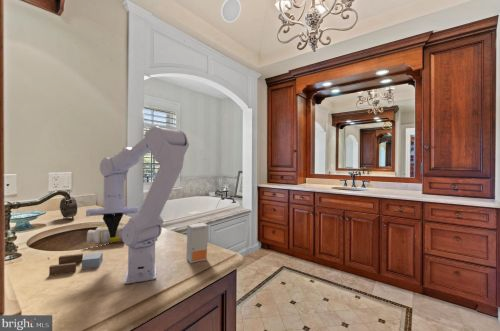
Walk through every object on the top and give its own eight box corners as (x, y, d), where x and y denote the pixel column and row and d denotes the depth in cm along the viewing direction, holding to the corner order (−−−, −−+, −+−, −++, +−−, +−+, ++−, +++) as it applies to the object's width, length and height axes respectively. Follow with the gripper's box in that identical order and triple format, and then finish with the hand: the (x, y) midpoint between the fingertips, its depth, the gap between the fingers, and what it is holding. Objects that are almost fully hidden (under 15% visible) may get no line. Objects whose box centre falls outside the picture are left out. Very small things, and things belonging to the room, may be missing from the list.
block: (99, 267, 70) (99, 258, 70) (81, 269, 69) (81, 259, 69) (102, 261, 75) (102, 252, 75) (86, 263, 73) (86, 254, 73)
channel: (75, 272, 67) (75, 263, 67) (49, 275, 64) (49, 267, 64) (82, 261, 74) (82, 253, 74) (59, 263, 72) (60, 256, 72)
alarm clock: (77, 219, 124) (78, 189, 123) (65, 221, 119) (66, 190, 119) (69, 216, 129) (69, 188, 129) (57, 218, 125) (58, 189, 125)
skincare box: (190, 263, 74) (191, 227, 74) (186, 259, 78) (187, 224, 78) (207, 260, 78) (208, 225, 77) (202, 255, 81) (203, 222, 81)
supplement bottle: (126, 231, 98) (90, 235, 92) (126, 221, 94) (88, 223, 89) (125, 244, 93) (87, 248, 87) (125, 233, 89) (85, 237, 84)
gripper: (139, 192, 80) (138, 231, 80) (90, 194, 74) (89, 235, 75) (138, 195, 74) (137, 237, 74) (84, 197, 68) (83, 242, 68)
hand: (113, 236), depth 74 cm, fingers closed
